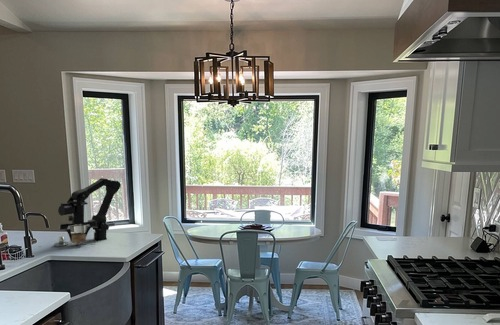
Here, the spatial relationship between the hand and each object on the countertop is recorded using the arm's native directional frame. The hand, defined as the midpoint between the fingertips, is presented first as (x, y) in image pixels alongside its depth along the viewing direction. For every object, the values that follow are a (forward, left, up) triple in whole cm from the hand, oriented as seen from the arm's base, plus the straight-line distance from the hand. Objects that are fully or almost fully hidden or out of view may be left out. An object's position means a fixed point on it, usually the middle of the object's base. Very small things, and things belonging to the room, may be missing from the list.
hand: (78, 238), depth 174 cm
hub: (+8, -5, -4) cm, 10 cm away
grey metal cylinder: (0, 0, -4) cm, 4 cm away
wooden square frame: (0, 0, -1) cm, 1 cm away
